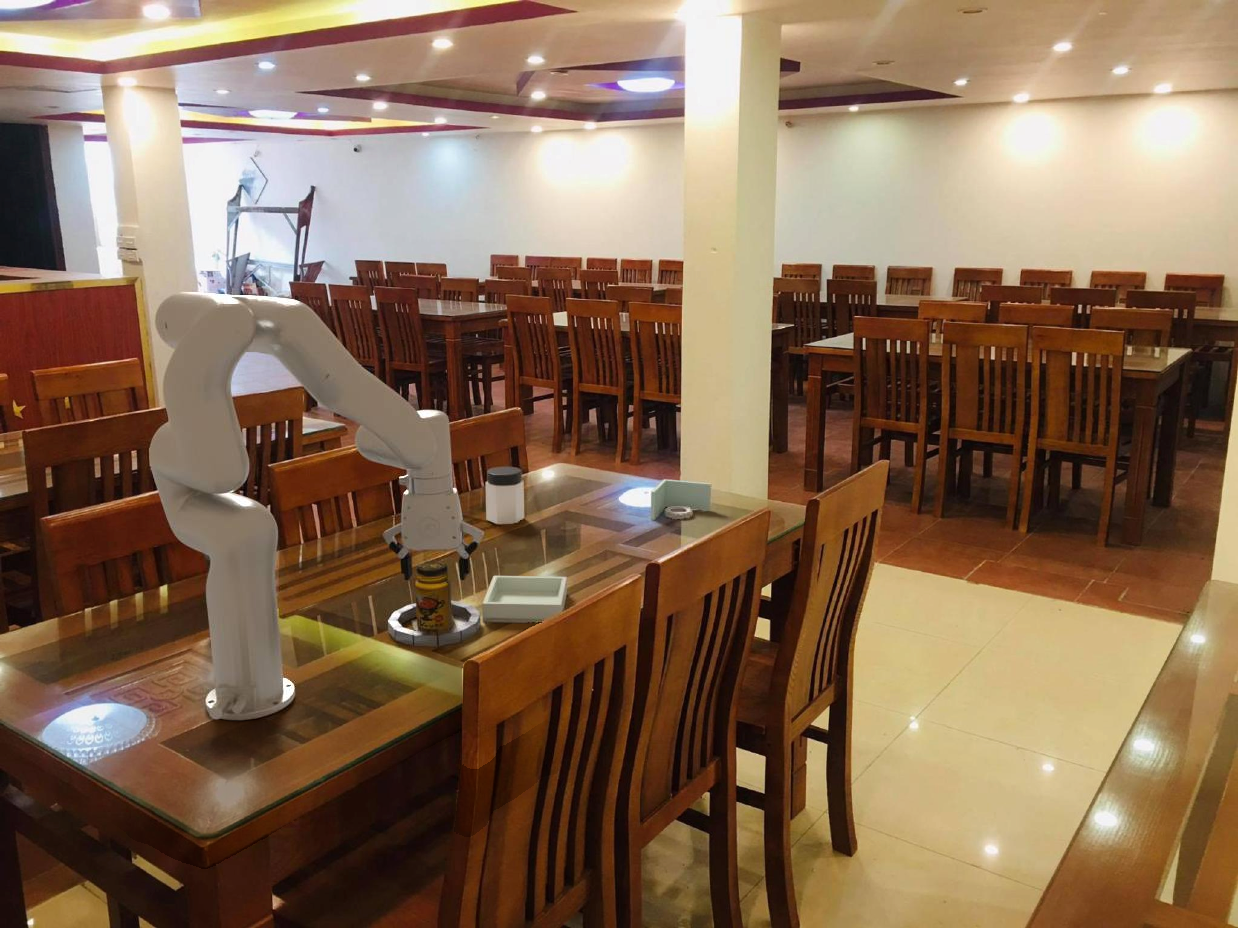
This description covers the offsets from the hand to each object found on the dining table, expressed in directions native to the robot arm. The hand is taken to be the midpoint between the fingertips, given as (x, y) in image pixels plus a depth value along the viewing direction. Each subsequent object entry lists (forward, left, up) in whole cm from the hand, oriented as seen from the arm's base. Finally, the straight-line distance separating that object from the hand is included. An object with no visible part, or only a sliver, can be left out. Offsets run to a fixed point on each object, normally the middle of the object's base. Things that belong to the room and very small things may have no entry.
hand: (436, 577), depth 175 cm
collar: (-1, 0, -9) cm, 9 cm away
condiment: (-1, 0, -10) cm, 10 cm away
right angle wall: (+69, -45, -10) cm, 83 cm away
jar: (+63, -4, -10) cm, 64 cm away
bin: (+9, -15, -9) cm, 20 cm away
